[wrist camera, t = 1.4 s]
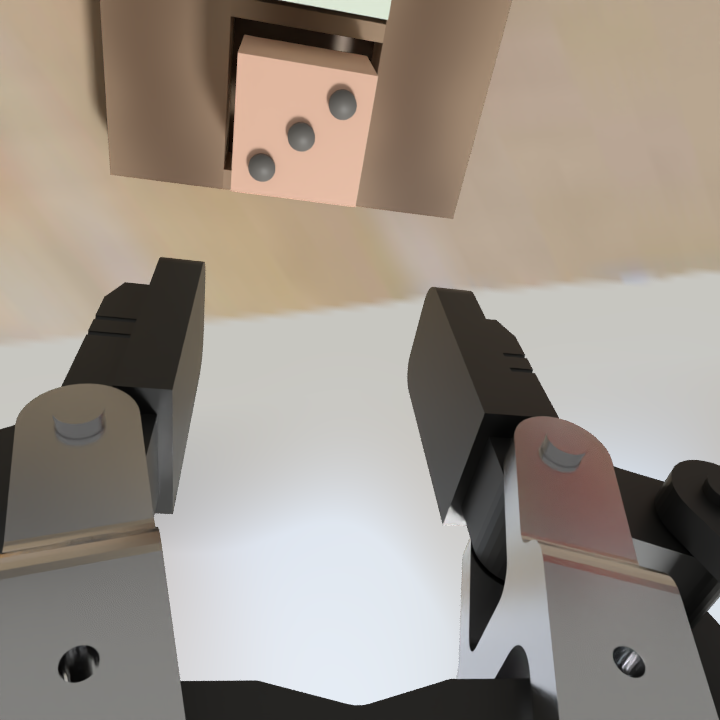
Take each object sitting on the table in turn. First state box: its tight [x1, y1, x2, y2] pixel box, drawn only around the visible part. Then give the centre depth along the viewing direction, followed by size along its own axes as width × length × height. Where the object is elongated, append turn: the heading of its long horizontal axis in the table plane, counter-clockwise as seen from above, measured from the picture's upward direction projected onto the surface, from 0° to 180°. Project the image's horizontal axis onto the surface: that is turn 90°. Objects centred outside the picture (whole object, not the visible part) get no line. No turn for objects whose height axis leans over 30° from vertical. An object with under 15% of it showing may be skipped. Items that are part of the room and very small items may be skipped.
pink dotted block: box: [231, 35, 378, 207], centre depth 22 cm, size 4×4×4 cm
